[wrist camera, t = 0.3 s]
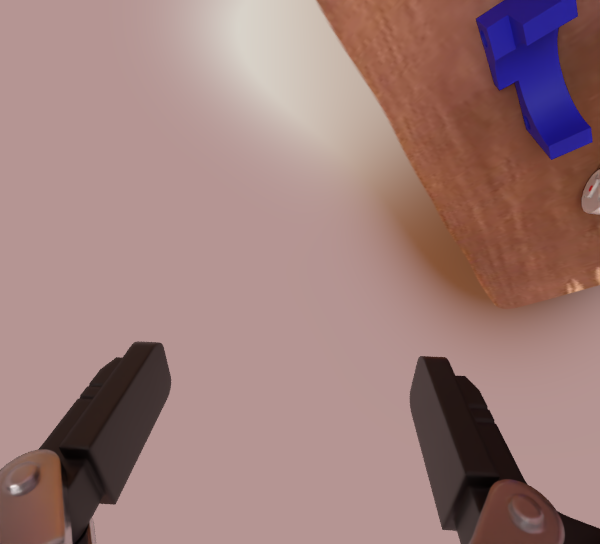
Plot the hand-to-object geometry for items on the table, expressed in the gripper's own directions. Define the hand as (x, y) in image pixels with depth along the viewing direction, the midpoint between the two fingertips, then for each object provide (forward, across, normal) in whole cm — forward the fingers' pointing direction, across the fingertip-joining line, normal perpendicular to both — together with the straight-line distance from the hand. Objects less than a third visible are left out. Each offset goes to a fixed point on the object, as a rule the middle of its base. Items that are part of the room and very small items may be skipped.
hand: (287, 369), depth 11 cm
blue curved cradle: (+29, -18, -9) cm, 35 cm away
